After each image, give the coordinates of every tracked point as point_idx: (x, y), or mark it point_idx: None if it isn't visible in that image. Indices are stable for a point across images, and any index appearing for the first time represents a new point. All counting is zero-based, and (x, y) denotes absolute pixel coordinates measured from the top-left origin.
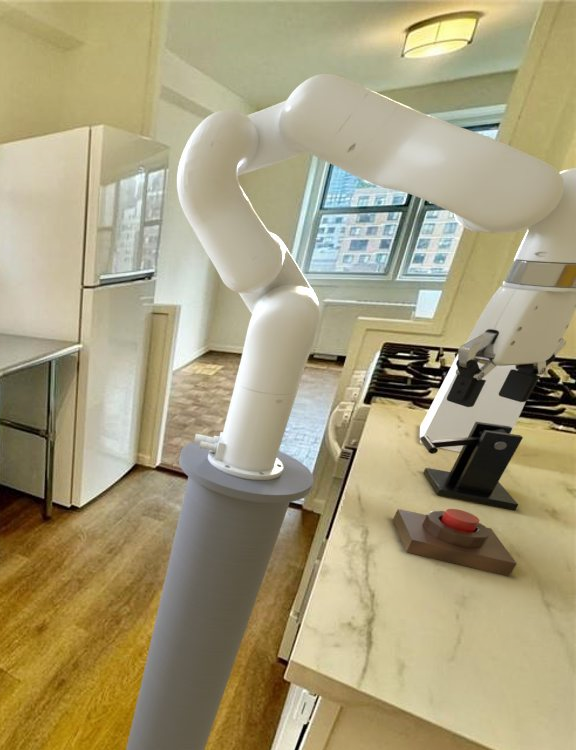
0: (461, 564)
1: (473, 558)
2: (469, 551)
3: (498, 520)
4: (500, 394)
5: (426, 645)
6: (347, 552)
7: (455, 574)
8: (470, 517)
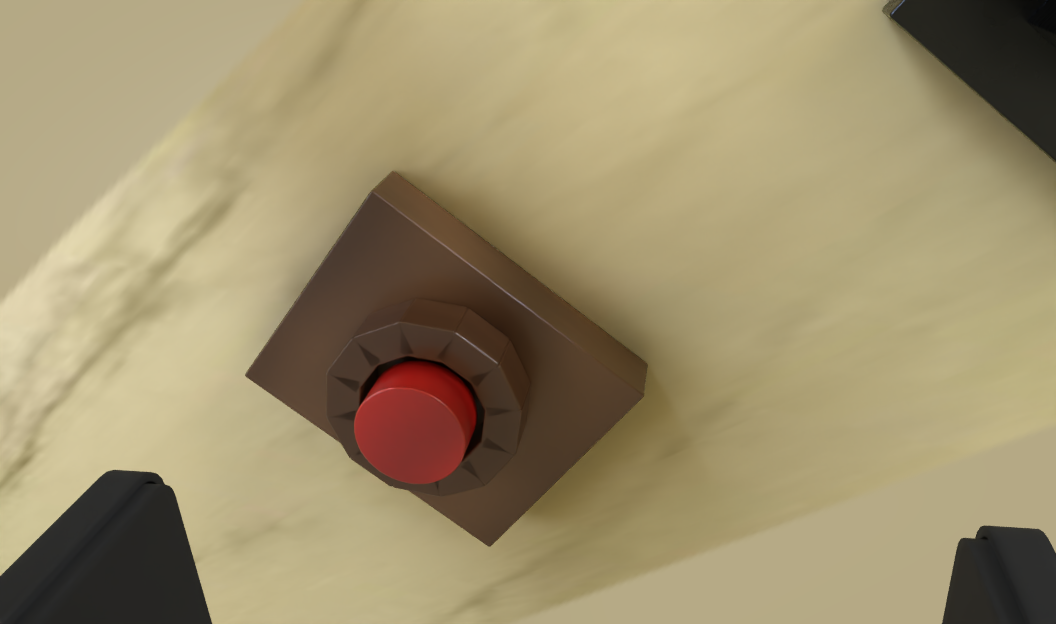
0: None
1: None
2: None
3: (911, 271)
4: (965, 556)
5: None
6: (65, 300)
7: (339, 461)
8: (428, 455)
